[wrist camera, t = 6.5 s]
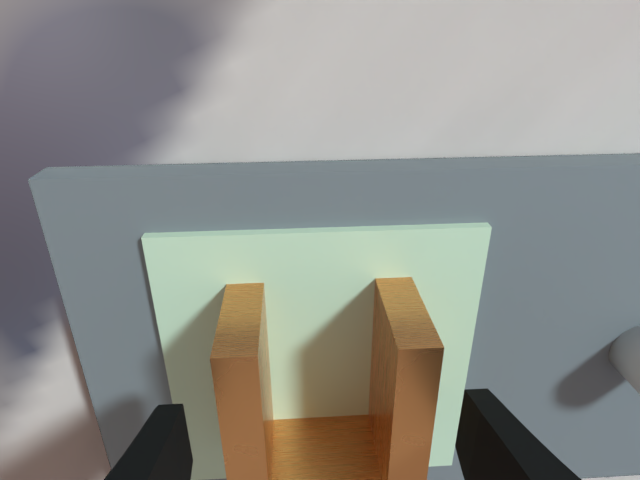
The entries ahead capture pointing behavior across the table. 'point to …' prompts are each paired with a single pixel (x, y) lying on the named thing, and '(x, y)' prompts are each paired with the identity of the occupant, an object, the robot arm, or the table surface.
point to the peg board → (360, 289)
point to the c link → (338, 431)
